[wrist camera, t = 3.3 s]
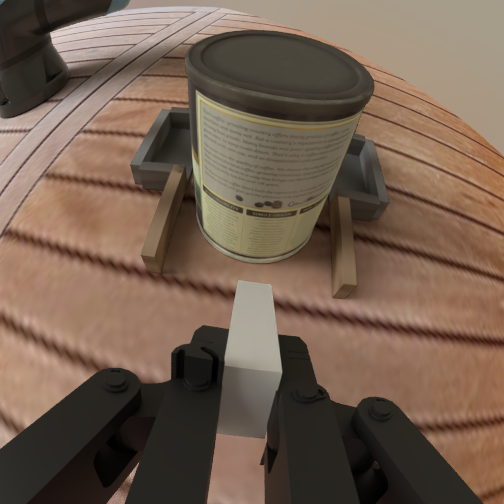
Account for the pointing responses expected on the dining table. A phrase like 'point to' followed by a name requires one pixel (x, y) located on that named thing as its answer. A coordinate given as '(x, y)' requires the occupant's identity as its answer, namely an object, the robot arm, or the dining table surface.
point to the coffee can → (268, 136)
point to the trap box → (180, 168)
